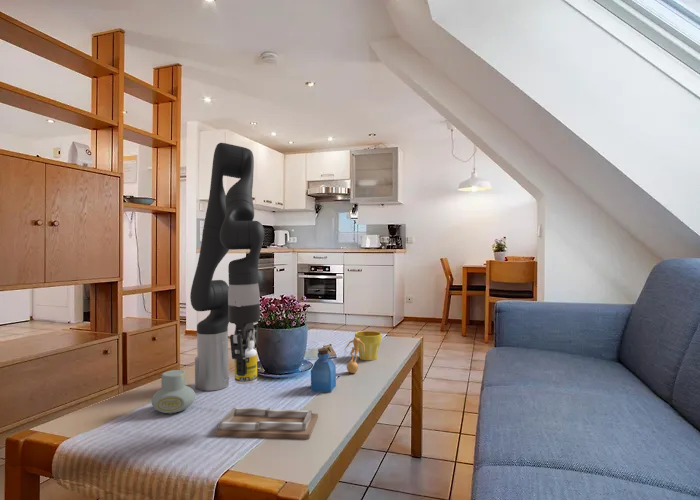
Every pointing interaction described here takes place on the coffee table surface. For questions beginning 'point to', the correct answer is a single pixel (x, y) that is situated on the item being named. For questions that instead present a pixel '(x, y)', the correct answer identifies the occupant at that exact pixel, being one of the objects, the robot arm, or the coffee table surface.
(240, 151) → the robot arm
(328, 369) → the perfume bottle
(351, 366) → the figurine
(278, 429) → the brown rectangular tray
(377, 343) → the plant pot
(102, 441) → the coffee table surface
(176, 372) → the air freshener
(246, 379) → the supplement bottle
